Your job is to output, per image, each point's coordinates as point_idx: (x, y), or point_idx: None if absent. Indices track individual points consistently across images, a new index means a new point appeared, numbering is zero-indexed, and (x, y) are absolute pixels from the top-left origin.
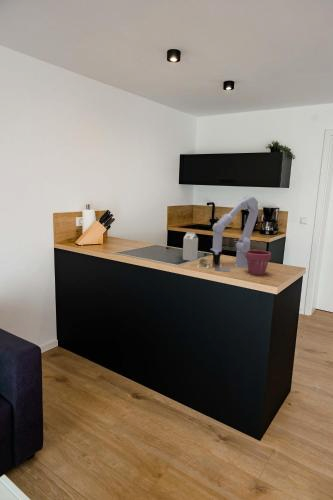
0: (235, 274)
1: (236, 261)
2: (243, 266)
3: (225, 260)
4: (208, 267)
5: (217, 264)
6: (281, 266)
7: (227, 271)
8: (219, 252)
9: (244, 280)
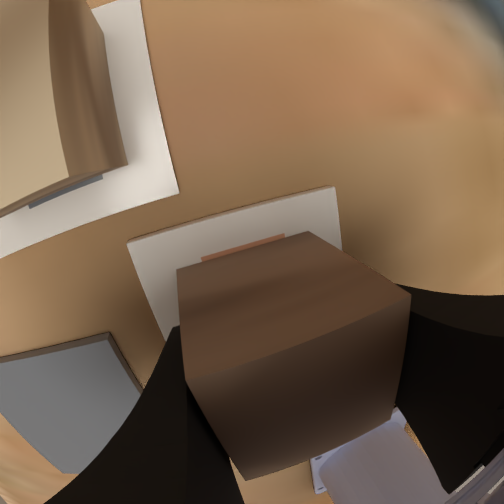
0: (55, 485)
1: (364, 466)
2: (313, 479)
3: (496, 280)
4: (24, 247)
5: None
6: None
7: (49, 461)
8: (456, 470)
9: (8, 496)
